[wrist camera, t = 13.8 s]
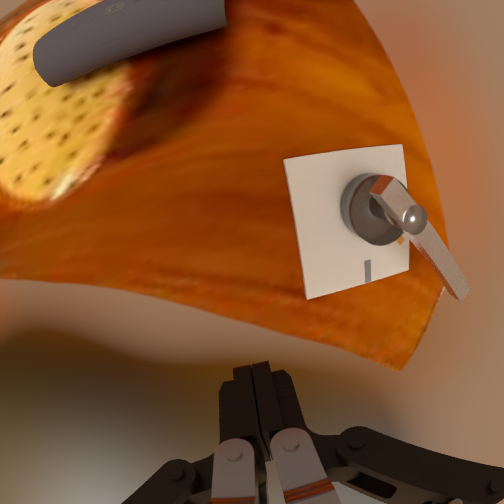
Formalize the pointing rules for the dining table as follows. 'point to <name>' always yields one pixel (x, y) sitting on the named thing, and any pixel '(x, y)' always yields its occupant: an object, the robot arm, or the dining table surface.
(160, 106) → the dining table surface
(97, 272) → the dining table surface
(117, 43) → the bluetooth speaker
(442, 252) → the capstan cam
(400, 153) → the board
